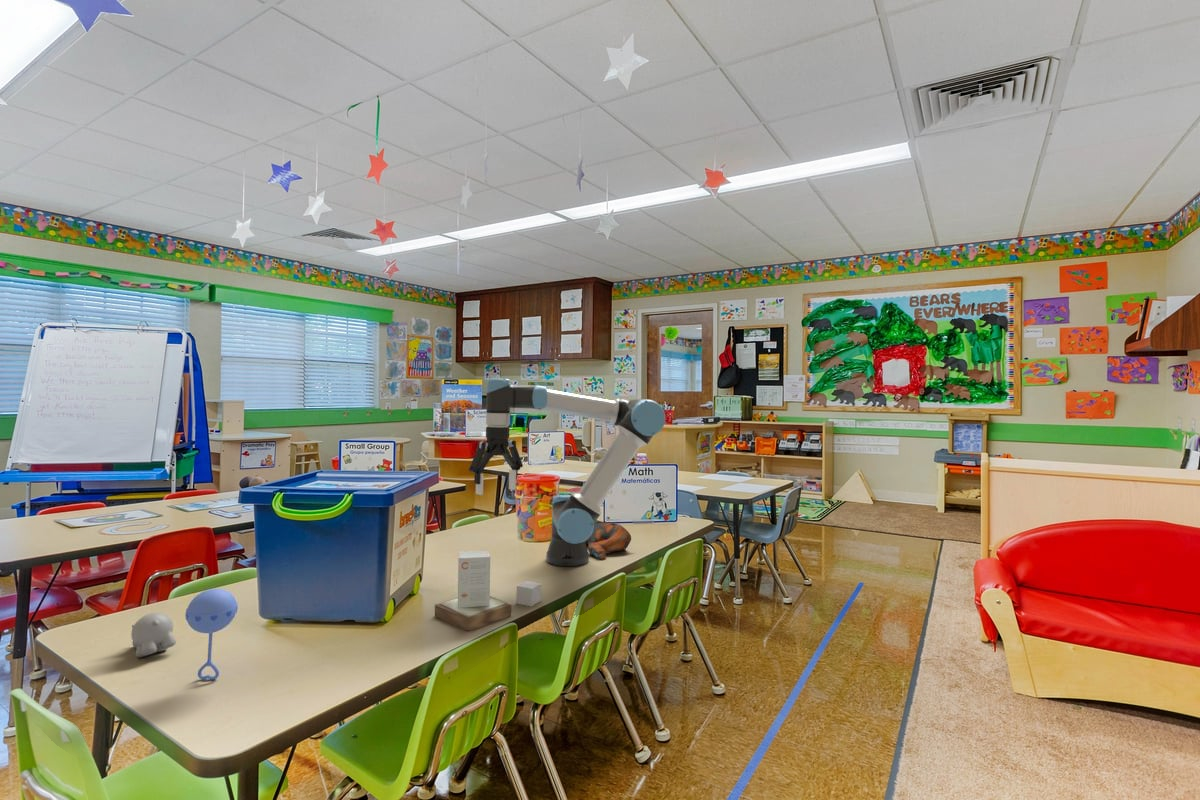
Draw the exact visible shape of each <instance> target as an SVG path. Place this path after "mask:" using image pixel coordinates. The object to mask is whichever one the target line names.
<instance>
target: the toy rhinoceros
mask: <svg viewBox="0 0 1200 800" xmlns="http://www.w3.org/2000/svg"><path fill="white" fill-rule="evenodd" d="M131 628H132V629H131V634H130V635H131V636H130V637H131V640H132V641H131V642H132V644H131V645H132V647H133V648H136V649H135V650H136V651H135V657H136V658H143V657H147V656H149V655H153V654H154V653H159V652H163V651H166V650H168V649H169V648H172V647H174V646H175V645H176V644H177V643H176V641H177V640H176V638H175V636H174V635H173V631H174V622H173V620H172V618H171V617H170V616H169V615H167V614H166V613H163V612H151V613H148V614H145V615H144V616H142V617H141V618H139V619H138V620H137V621H136V622H135V623H134V624H132V625H131Z"/></svg>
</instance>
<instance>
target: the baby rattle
mask: <svg viewBox="0 0 1200 800" xmlns="http://www.w3.org/2000/svg"><path fill="white" fill-rule="evenodd" d="M238 606H239V605H238V601H237V599H236V598H235V596H234V595H233V594H232V592H230V591H228V590H226V589H223V588H210V589H207V590H204V591H202V592H200V593H198V594H197V595H195V597H193V599H192V600H191V601H190V603H189V604H188V606H187V608H186V610H185V616H184V617H185V620H186V621H187V624H188V625H189V627H190V628H191V629H192V630H194V631H195V632H197V633H202V634H208V645H207V661H206V662H205V663H204V664H202V666H201V667H200V668H199V669H198V670H197V677H198V678H199V679H201V680H206V679H209V680H212V681H213V680H214V681H215V680H217V679H218V677H219V676H220V670H219V669H218V667H217V666H216V664H214V662H213V661H212V652H213V651H212V647H213V633H216V632H219V631H221V630H223V629H224V628H227V627H228V625H229V624H231V622H232V621H233V620H234V618H235V616H236V615H237V613H238V608H239V607H238ZM206 667H211V668H212V670H213V671H214V673H215V675H214V676H213V675H211V674H206V675H203V674H202V672H203V670H204V669H205V668H206Z"/></svg>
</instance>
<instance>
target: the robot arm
mask: <svg viewBox="0 0 1200 800" xmlns="http://www.w3.org/2000/svg"><path fill="white" fill-rule="evenodd" d="M486 384H487V385H486V411H485V412H486V413H485V415H486V417H485V418H486V419H485V425H487V426H486V427H485V438H486V442H485V441H478V443H477V449H476V452H475V453H474V457H473V459H472V462H471V464H470V466H469V468H468V472H470V473H473V474H474V475H473V476H474V477H473V479H474V481H473V482H474V485H475V495H479V496H483V495H484V473H483V471H484V470H485V468H486V467H487V465H488V464H489V462H490V460H491V459H492V458H493V457H494V456H498V455H499V456H502V457H503V458H504V460H505V461H506V463H507V464H508V465H509V467H510V469H508V470H509V471H508V490H512V491H516V490H517V480H518V477H519V476H518V473H519V472H518V471H520V470H521V468H523V467H524V465H523V462H522V459H521V457H520V454H519V451H518V448H517V441H516V440H513V439H509V438H510V430H511V429H510V427H509V426H510V423H511V420H510V419H511V416H510V415H511V409H531V410H532V409H533V410H538V411H539V410H540V411H546V412H553V413H557V414H564V415H569V416H570V415H571V416H574V417H575V416H576V417H581V418H587V419H593V420H598V421H604V422H609V423H610V424H611V425H613V426H617V428H618V433H617V435H616V437H614V440H613V441H612V442H611V444H610V445H609V447H608V448H607V450H606V451H605V453H604V454H603V456H602V457H601V458H600V460H599V461H598V463H597V465H595V467H594V469H593V470H592V472H591V473H590V474H589V476H588V478H587V479H586V481H585V482H584V483H583V485H582V487H581V488H580V489H579V491H577V492H572V493H571V495H564V494H563V495H555V496H554V497H553V498H552V501H551V506H552V507H551V509H552V510H551V512H552V513H551V539H550V542H549V545H548V549H547V552H546V555H545V562H546V563H548V564H550V565H553V566H557V567H579V566H582V565H585V564H588V563H589V562H590V561H589V560H590V553H589V551H588V548H587V544H586V543H585V541H586V540H587V539H588V538H589V537H590V536H591V534H592V532H593V528H594V523H595V522H596V520H598V519H599V518H600V516H601V514H602V512H601V507H602V504H603V503H604V501H605V500H606V499H607V497H608V496H609V494H610V493H611V492H612V489H613V488H614V487H615V485H616V484H617V483H618V481H619V479H620V477H621V476H622V474H623V473H624V472H625V470H626V469H627V467H628V465H629V464H630V463H631V462H632V460H633V458H634V457H635V455H636V454H637V453H638V451H639V449H640V448H641V447H645V446H648V444H649V443H650V442H651V440H652V438H653V437H654V436H655V435H657V434H658V433H660V432H661V431H662V429H663V428H664V427H665V424H666V414H665V410H664V409H663V407H662V405H660V404H659V403H658V402H656V401H655V400H653V399H648V398H645V399H641V398H640V399H638V398H637V399H622V398H615V399H613V400H612V399H611V400H610V399H606V398H600V397H594V396H589V395H583V394H577V393H572V392H567V391H566V392H564V391H561V390H560V391H559V390H554V389H548V388H547V386H546V385H545V386H544V385H537V384H536V385H529V384H528V385H526V384H525V385H524V384H523V385H516V384H512V382H511V379H509V378H498V377H497V378H493V377H492V378H489V379H488V380H487V382H486ZM508 439H509V440H508Z"/></svg>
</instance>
